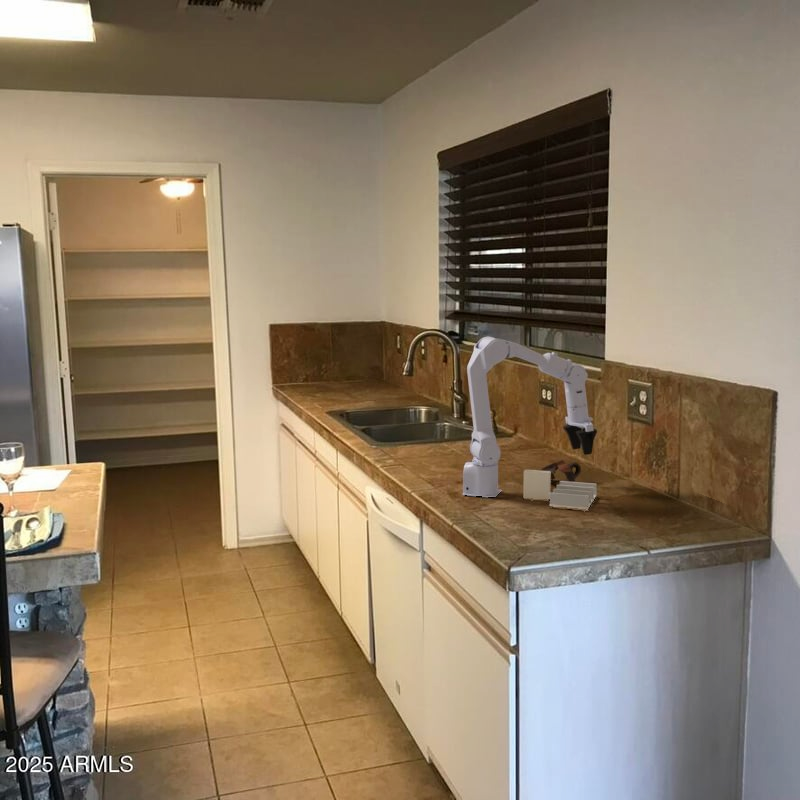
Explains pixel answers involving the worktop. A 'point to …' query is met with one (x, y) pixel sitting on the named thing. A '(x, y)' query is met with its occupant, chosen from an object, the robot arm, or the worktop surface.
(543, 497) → the beige rectangular block
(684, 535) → the worktop surface
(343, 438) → the worktop surface
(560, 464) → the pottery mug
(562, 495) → the dish rack
